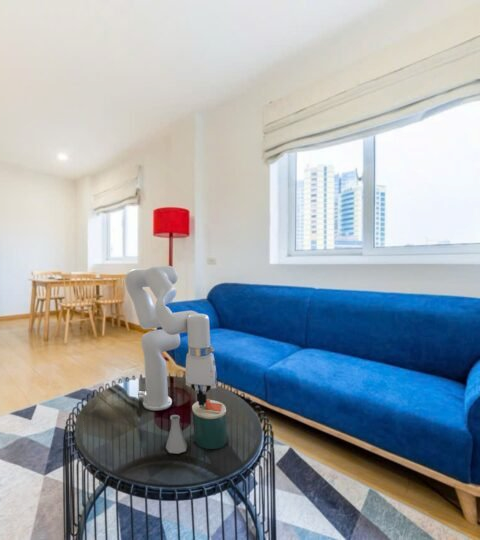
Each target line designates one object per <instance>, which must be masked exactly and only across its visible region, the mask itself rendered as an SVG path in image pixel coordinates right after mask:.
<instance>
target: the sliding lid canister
mask: <svg viewBox="0 0 480 540" xmlns="http://www.w3.org/2000/svg"><path fill="white" fill-rule="evenodd" d="M210 404H219V405H222V407H221V411H213V410H206V402H205V404H204V406H202V405H199V402H198V401H196V402H194V403H193V404H192V406H191V410H192V421H193V422H192V423H193V424H192V427H193V441H194V442H195V444H196V445H197V446H199V447H201V448H203V449H205V450H217V449H221V448H223V447H224V446H226V444H227V442H228V435H227V434H228V433H227V407H226V405H225V404H224V403H222V402H220V401H218V400H214V399H210Z"/></svg>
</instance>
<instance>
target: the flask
mask: <svg viewBox="0 0 480 540" xmlns="http://www.w3.org/2000/svg"><path fill="white" fill-rule="evenodd" d="M180 419H181V416H180V415H179V414H172V415H170V417H169V420H170V421H171V422H170V431H169V434H168V437H167V441H166V444H165V449H166V451H167V452H168V453H169V454H176V455H177V454H181V453H184V452H187V449H188V443H187V441H186V438H185V436H184V434H183V431H182V427H181V424H180Z"/></svg>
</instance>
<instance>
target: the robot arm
mask: <svg viewBox="0 0 480 540" xmlns="http://www.w3.org/2000/svg"><path fill="white" fill-rule="evenodd" d="M178 276H179V275H178V272H177V270H176V269H175V268H174V267H173V265H156V266H155V265H154V266H150V267H147V268H135V269H131V270H130V271H128V272H127V273H126V275H125V280H124V282H125V287H126V291H127V293H128V295H129V297H130V299H131V301H132V304H133V307H134V309H135V314H136V318H137V320H138V324H139V326H140V327H141V329H143V330H150V331H148V332H146V333H144V334H143V335H142V336H141V338H140V345H141V349H142V354H143V361H144V381H145V391H140V390H139V391H138V392H137V398H138V399H143V400H142V406H143V407H144V408H145V409H147V410H149V411H156V412H158V411H165V410H167V409H169V408H170V407H171V406H172V404H173V399H172V398H171V397H170V396H169V387H168V366H167V364H168V363H167V361H166V359H165V357H164V356H163V355H162V353H165V352H168V351H173V350H176V349H178V348H179V347H180V345H181V335H180V334H183V333H187V346H188V352H187V353H186V357H185V372H184V373H185V386H187V387H189V388H192V389H193V391H195V394H196V402H199V405H202V406H204V404H205V402H206V401H207V399H208V398H207V393H208V392H210V390H214V389H217V387H218V384H217V367H216V360H215V355H214V353H215V352H216V348H215V347H212V345H211V331H210V330H211V329H210V318H209V317H210V316H209V315H208V314H207V313H206V314H205V313H199V312H197V311H195V310H184V311H178V312H177V311H176V312H173V311H172V310H171V308H170V307H168V306H166V305H167V304H170V302H172V301H173V300H174V299H175V297H176V296H177V289H176V287H175V286H174V285H175V284H176V283H177V282H178V279H179V277H178ZM144 288H149V289H150V291H151V292H152V293H153V295H154V297H155V299H156V301H155V304H154V302H153V299H152V296H151V295H150V294H149V292H147V290H145V289H144ZM158 328H161V329H158ZM153 329H156V330H153ZM201 386H202V388H201Z"/></svg>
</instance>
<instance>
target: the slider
mask: <svg viewBox="0 0 480 540" xmlns="http://www.w3.org/2000/svg"><path fill="white" fill-rule="evenodd" d="M210 400H211V398H207V401H206V410H213V411H221V407H222V405H219V404H210Z"/></svg>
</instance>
